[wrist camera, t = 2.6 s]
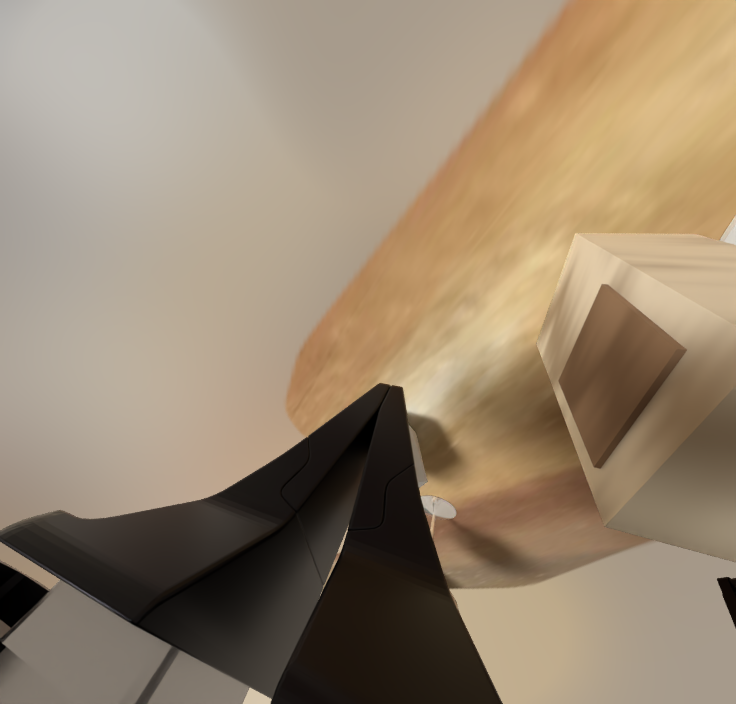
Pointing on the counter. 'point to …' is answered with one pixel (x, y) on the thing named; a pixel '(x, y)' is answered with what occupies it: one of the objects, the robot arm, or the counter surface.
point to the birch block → (650, 382)
